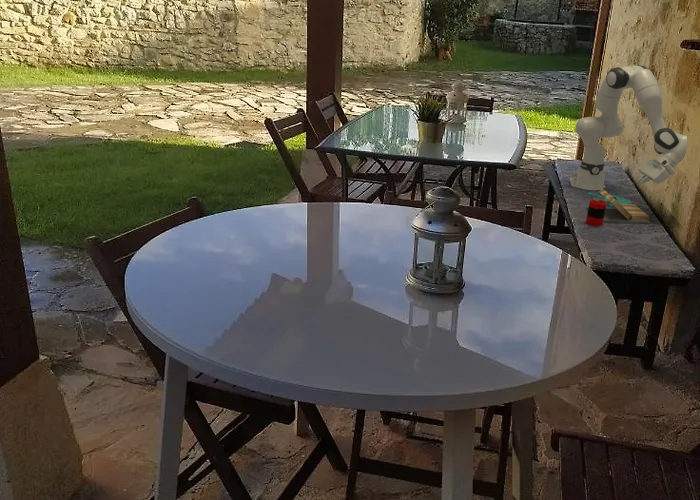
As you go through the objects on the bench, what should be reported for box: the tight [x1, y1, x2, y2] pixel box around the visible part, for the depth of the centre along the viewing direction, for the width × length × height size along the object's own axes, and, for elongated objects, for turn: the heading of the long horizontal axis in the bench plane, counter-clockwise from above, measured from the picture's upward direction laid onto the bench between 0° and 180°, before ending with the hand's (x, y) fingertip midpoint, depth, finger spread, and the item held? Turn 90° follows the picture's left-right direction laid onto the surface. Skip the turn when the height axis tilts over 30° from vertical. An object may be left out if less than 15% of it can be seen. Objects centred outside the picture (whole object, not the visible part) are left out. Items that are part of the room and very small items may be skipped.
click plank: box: [598, 188, 632, 219], centre depth 329 cm, size 18×12×2 cm
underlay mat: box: [585, 206, 651, 225], centre depth 331 cm, size 20×24×1 cm
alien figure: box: [587, 192, 633, 208], centre depth 351 cm, size 20×2×20 cm
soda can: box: [585, 197, 607, 227], centre depth 318 cm, size 8×8×12 cm
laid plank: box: [621, 203, 650, 221], centre depth 331 cm, size 18×8×2 cm, turn 0°
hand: (639, 183), depth 325 cm, fingers closed
